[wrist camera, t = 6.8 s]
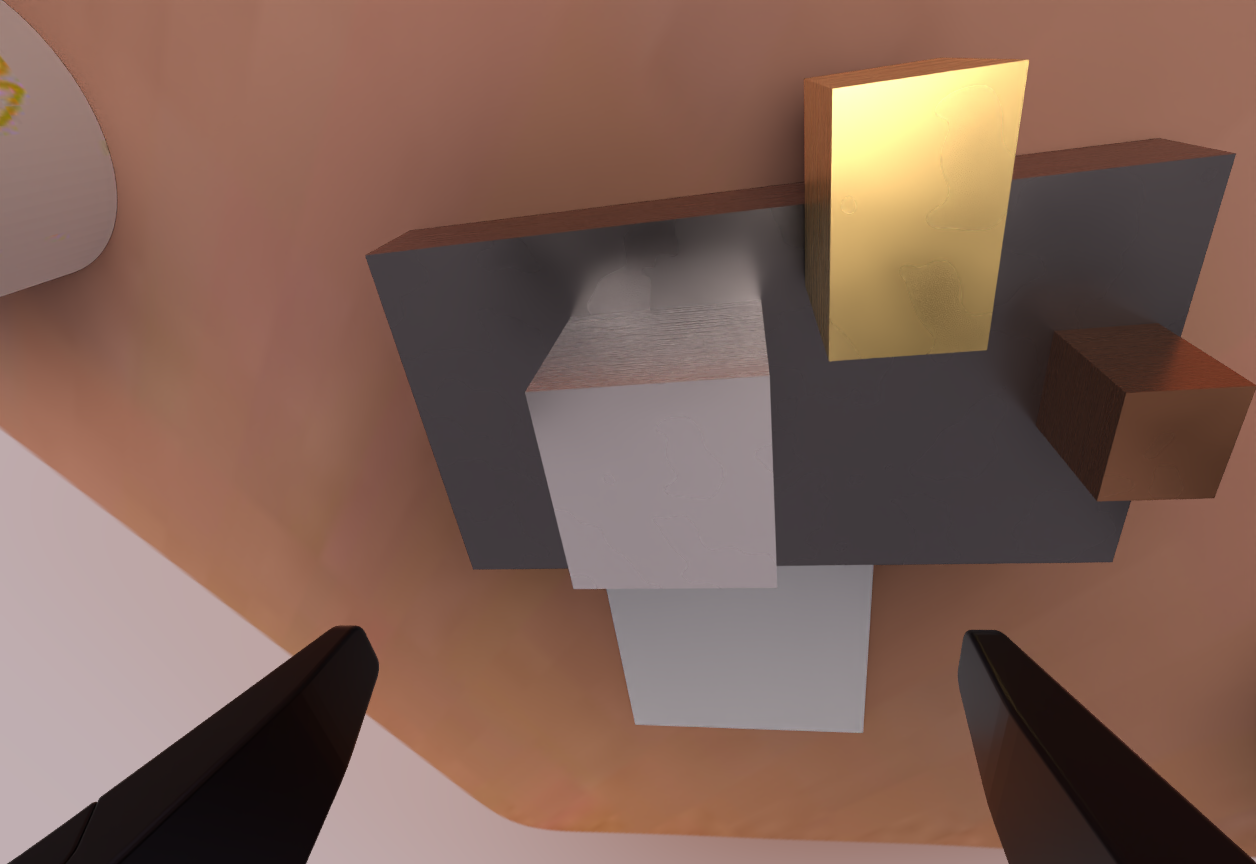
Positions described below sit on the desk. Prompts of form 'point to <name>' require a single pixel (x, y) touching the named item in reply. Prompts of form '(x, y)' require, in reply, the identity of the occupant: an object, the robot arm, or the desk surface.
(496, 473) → the dark grey base plate
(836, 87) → the block
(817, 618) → the felt mat
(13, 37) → the cup
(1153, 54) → the desk surface
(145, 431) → the desk surface
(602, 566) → the light grey block
